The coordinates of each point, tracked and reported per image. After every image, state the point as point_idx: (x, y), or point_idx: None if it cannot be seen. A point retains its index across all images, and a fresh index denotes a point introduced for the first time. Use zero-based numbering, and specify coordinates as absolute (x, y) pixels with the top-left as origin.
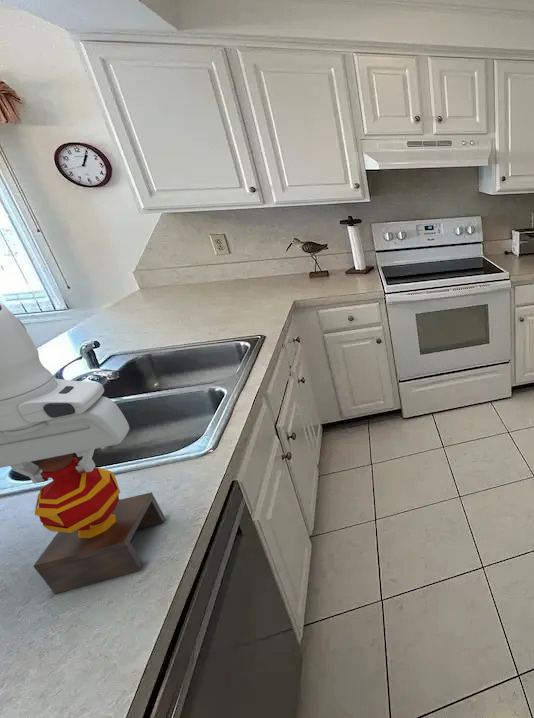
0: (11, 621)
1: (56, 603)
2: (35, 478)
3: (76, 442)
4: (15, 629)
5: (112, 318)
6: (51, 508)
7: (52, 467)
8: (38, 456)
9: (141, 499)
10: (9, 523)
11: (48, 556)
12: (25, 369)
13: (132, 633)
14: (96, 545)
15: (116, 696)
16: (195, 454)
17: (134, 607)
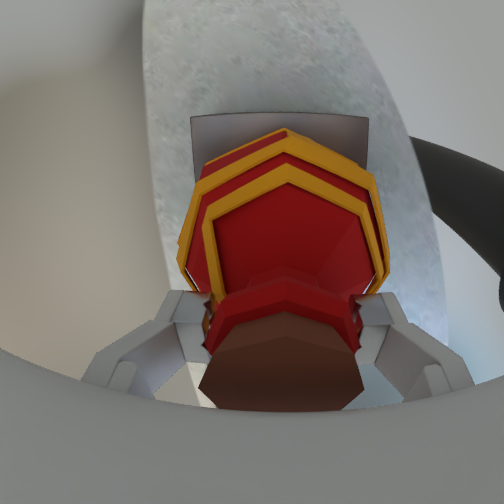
0: (384, 87)
1: (332, 92)
2: (385, 309)
3: (27, 436)
4: (370, 67)
5: None
6: (309, 160)
7: (267, 335)
8: (312, 445)
9: None
10: (445, 304)
11: (349, 134)
12: None
13: (176, 5)
14: (252, 127)
15: None
16: None
17: (191, 42)
